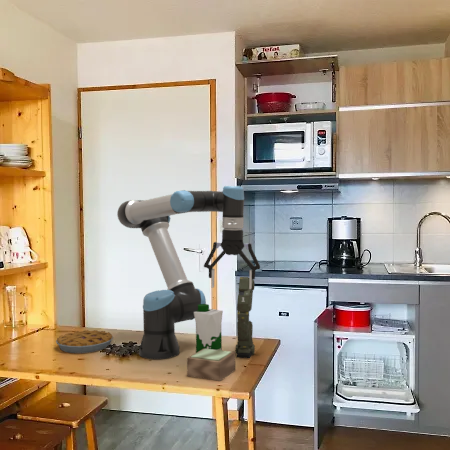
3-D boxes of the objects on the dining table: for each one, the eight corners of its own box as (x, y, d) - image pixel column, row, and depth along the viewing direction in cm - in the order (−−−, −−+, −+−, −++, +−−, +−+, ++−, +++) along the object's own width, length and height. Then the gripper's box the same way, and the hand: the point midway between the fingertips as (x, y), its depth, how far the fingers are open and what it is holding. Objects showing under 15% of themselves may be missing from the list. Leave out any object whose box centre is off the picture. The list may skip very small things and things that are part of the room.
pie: (79, 358, 190) (79, 345, 190) (45, 348, 203) (44, 336, 203) (124, 345, 207) (124, 332, 207) (90, 337, 221) (89, 325, 220)
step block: (187, 376, 169) (187, 356, 168) (203, 365, 180) (203, 347, 179) (220, 381, 164) (220, 361, 163) (235, 369, 175) (235, 351, 174)
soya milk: (205, 355, 192) (204, 302, 191) (226, 359, 187) (225, 304, 186) (191, 361, 184) (191, 306, 183) (212, 365, 179) (212, 309, 178)
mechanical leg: (250, 359, 183) (253, 275, 189) (231, 358, 185) (234, 275, 191) (256, 357, 197) (258, 279, 202) (237, 356, 198) (240, 278, 204)
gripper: (196, 229, 181) (196, 288, 182) (267, 230, 179) (266, 290, 180) (199, 227, 188) (198, 284, 190) (267, 229, 186) (266, 286, 188)
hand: (231, 287), depth 185 cm, fingers open, 13 cm apart
